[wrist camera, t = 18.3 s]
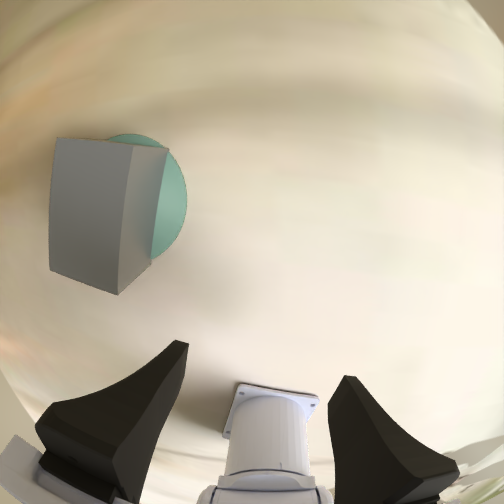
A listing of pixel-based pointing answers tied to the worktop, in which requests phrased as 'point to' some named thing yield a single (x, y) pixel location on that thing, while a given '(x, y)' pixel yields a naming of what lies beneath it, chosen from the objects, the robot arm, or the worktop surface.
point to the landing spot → (164, 198)
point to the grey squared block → (103, 210)
